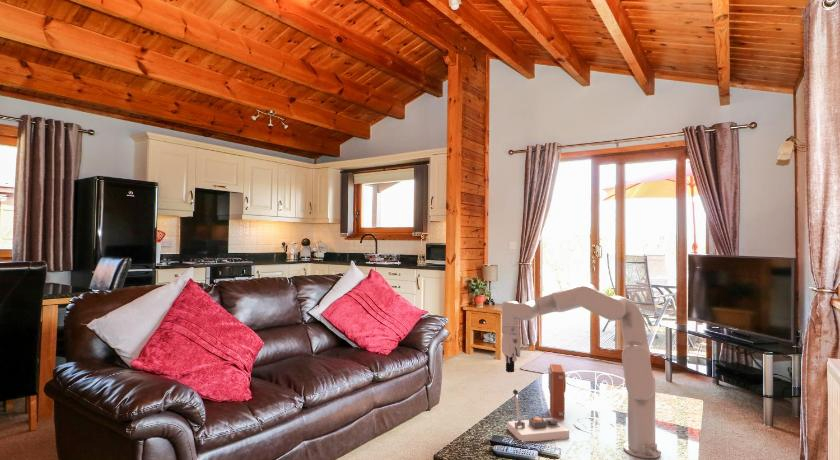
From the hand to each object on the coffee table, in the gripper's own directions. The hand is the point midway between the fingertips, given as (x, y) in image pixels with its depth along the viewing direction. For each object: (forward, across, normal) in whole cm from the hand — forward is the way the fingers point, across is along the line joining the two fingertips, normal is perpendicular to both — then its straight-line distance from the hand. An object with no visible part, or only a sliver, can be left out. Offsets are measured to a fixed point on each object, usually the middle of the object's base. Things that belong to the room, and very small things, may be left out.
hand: (510, 371), depth 202 cm
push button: (+19, -10, -8) cm, 23 cm away
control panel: (+23, +8, -27) cm, 37 cm away
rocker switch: (+19, -10, -15) cm, 26 cm away
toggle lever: (+19, -10, 0) cm, 21 cm away
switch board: (+23, -10, -8) cm, 27 cm away
